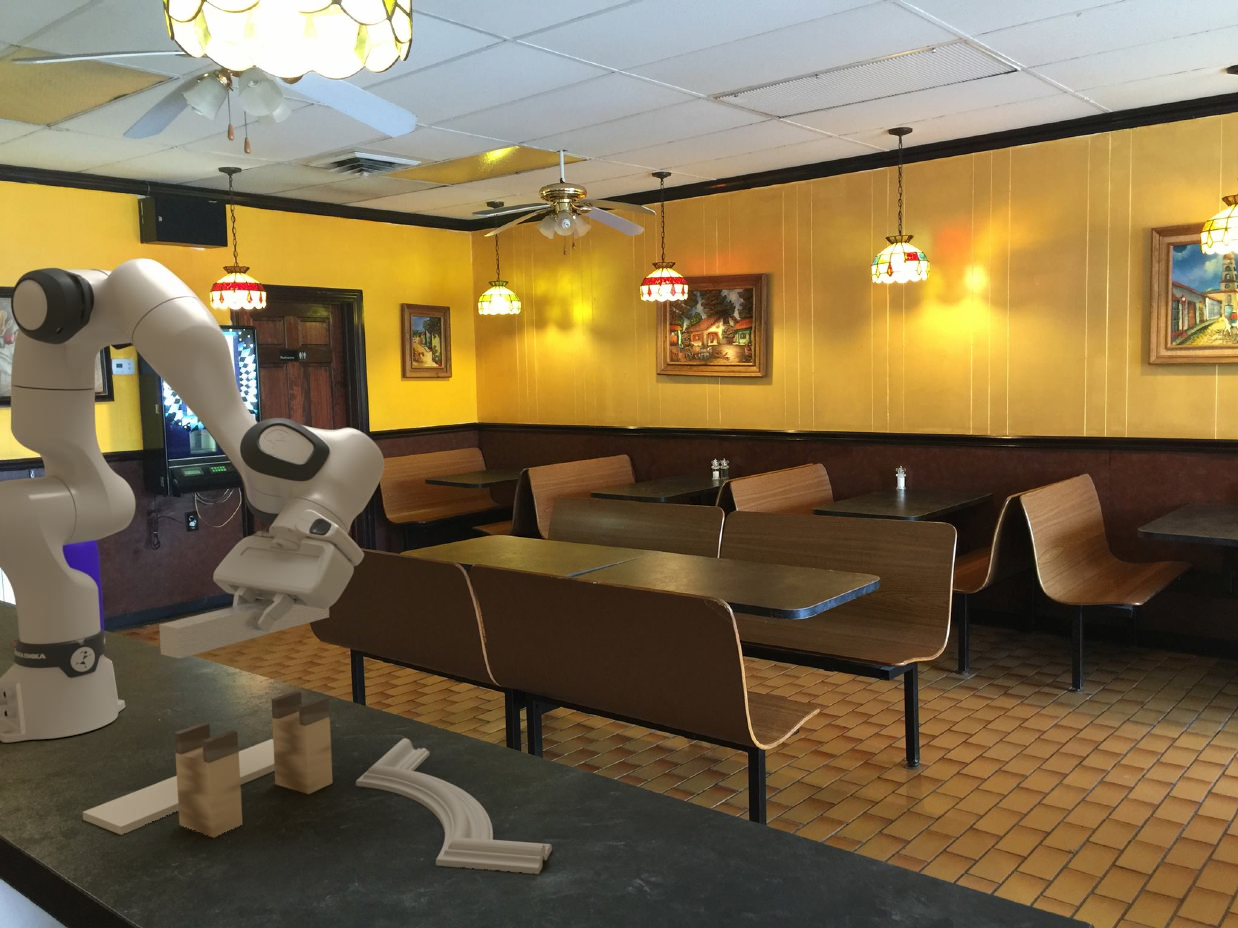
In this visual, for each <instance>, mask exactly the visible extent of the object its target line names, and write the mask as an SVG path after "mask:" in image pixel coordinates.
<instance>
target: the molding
mask: <svg viewBox="0 0 1238 928" xmlns="http://www.w3.org/2000/svg"><path fill="white" fill-rule="evenodd" d="M428 757H430V751H429V750H428V749H427V748H425V747H422V748H419V747H418V748H417V749H415V748H414V746H413V743H412V741H411V740H410V739H408V738H402V739H401V740H400V741H399V742H397V744H395V745H394V746H393V747H392V748H391V749H390V750H389V751H387V752H386V753H385V754H384V755H383V756H382V757H381V758H379V760H377V761H376V762H375V763H374V764H372V766H371V767H369V768H368V770H367V771H365V772H364V773H363V774H362V775H361V776H360V777H359V778H358V779H356V780H355V787H362V788H363V787H364V788H370V789H377V790H381V791H382V790H383V791H385V792H390V793H395V794H397V795H401V796H404V797H405V798H406V797H407V798H409V799H411V800H413V801H414V802H415V801H416V802H417V803H420V804H421V805H422V806H424V807H426V808H427V809H428V810H429V811H431V812H432V813H433V814H434V815H435V816H436V817H437V818H438V821H439V822H440V823H441V827H442V828H443V831H444V840H443V841H444V842H443V845H442V847H441V850H440V852H439V854H438V856H437V858H436V859H435V866H438V867H448V868H449V867H450V868H460V867H461V868H462V867H465V868H464V869H472V868H474V869H475V870H484V869H486V870H485V871H495V870H500V871H499V872H507V871H510V873H519V872H522V873H521V874H531V875H539V874H540V872H541V871H542V868H543V861H547V859H548V858H549V856H550V855H551V852H552V850H553V845H552V844H550V843H539V842H526V841H525V842H524V841H511V840H501V839H500V840H499V839H494V829H493V824H492V822H491V819H490V816H489V814H488V811H486V810H485V808H484V807H483V805H482V804H481V803H480V802H479V801H478V800H477V799H476V798H475V797H473V796H472V795H471V794H470V793H468V792H467V791H465V790H464V789H462V788H461V787H459V786H456V785H454V784H452V783H450V782H448V781H446V780H444V779H442V778H439V777H436V776H433V775H429V774H426V773H424V772H423V773H422V772H419V771H415V770H416V769H418V767H419V766H420V765H421V764H422V763H424V761H425V760H427V758H428ZM461 868H460V869H461ZM474 869H473V870H474ZM487 869H488V870H487ZM533 873H534V874H533Z"/></svg>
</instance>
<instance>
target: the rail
mask: <svg viewBox="0 0 1238 928" xmlns="http://www.w3.org/2000/svg"><path fill="white" fill-rule="evenodd" d="M273 603H274V601H272V600H266V599H259V600H257V601H256V600H254V602H251V603H247V604H243V605H239V606H234V607H233V606H231V607H227V608H226V607H225V608H223V609H218V610H215V611H211V612H205V613H201V614H198V615H194V616H188V617H186V618H181V619H177V620H173V621H168V622H165V623H160V624H159V625H158V627H159V644H160V655H163V656H167V657H171V658H175V659H183V658H187V657H190V656H194V655H197V654H201V653H204V652H208V651H211V650H212V651H213V650H215V649H219V648H222V647H226V646H230V645H233V644H237V643H241V642H244V641H247V640H252V639H255V638H259V637H263V636H265V635H269V634H270V635H271V634H273V633H277V632H282V631H284V630H287V629H291V628H295V627H299V626H302V625H305V624H309V623H312V622H316V621H320V620H323V619H326V618H330V607H329V608H327V609H319V608H313V607H307V606H301V605H295V604H294V605H293V607H292V608H291V610H290V611H289V612H288V613H286V614H285V615H284V616H282V617H281V618H280V619H278V620H277V621H275V623H274V624H273V626H272V627H271V629H270V630H269V631H268V632H265V631H261V630H258V629H256V627H254V626H253V624H252V622H253V620H254V619H255V618H256V616H257V614H258V613H259V612H264V611H265V610H266V609H267V608H268V607H270V606H271V605H272V604H273Z"/></svg>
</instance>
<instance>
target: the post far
mask: <svg viewBox="0 0 1238 928" xmlns="http://www.w3.org/2000/svg"><path fill="white" fill-rule="evenodd" d="M302 703H303V702H302V691H298V690H294V691H291V692H288V693H286V694H283V695H280V696H277V697H274V698H272V699H271V714H272V715H271V718H272V719H271V721H272V722H271V723H272V725H271V726H272V739H273V745H274V766H275V771H274V779H275V780H274V782H275V785H276V786H280V787H282V788H283V787H284V788H287V789H290V790H293V791H297V792H299V793H303V794H307V795H310V794H312V793H314V792H317V791H319V790H321V789H323V788H325V787H327V786H330V785H331V784H333V762H332V761H333V760H332V740H331V720H330V719H331V718H330V700H329V697H326V696H322V697H319V698H317V699H313V700H311V701H308V702H306V703H303V704H302Z"/></svg>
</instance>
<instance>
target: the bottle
mask: <svg viewBox="0 0 1238 928" xmlns="http://www.w3.org/2000/svg"><path fill="white" fill-rule="evenodd" d="M63 554H64V557H65V560H66V562H67V564H68V565H69V567H70V568H73V569H76V570H78V571H81V572H83V573H85V574H87V575H89V576H90V577H91V578H92V579H93V580H94V581H95V583H96V584H97V587H98V596H99V612H100V628H101V629H102V630H103V631H104V632H105V619H104V618H105V617H104V602H103V601H104V600H103V588H102V586H103V585H102V574H101V571H102V570H101V563H100V562H101V561H100V551H99V545H98V540H93V541H88V542H82V543H76V544H70V545H64V546H63ZM105 636H106V635H104V637H105ZM105 638H106V637H105Z"/></svg>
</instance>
